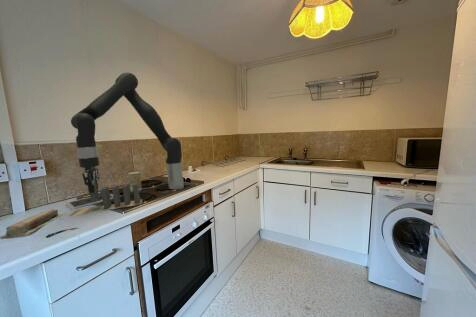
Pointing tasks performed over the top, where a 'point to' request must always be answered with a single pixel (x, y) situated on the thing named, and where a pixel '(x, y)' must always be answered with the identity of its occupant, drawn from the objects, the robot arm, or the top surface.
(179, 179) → the robot arm
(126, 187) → the domino
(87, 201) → the picture frame
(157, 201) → the top surface
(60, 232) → the chef's knife
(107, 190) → the domino
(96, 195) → the domino
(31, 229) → the packaged product
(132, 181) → the skincare box
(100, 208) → the oak board
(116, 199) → the domino
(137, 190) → the domino
